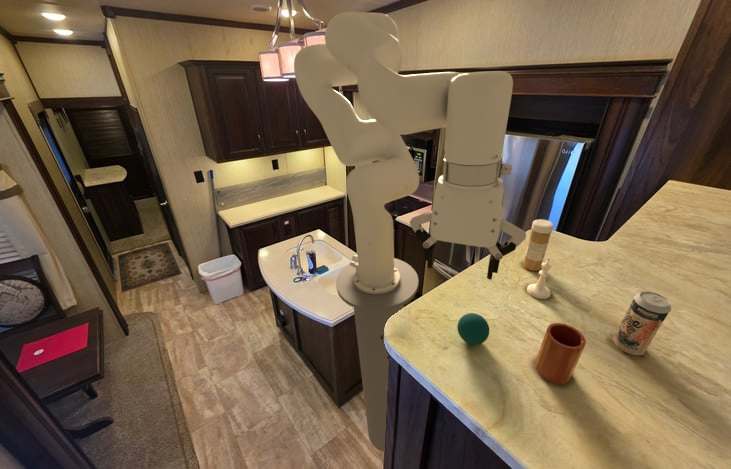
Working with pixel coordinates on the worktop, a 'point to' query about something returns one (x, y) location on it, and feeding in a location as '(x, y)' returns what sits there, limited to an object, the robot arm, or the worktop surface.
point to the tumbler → (559, 353)
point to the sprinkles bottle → (537, 244)
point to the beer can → (641, 322)
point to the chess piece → (541, 283)
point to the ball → (473, 328)
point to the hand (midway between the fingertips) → (459, 269)
